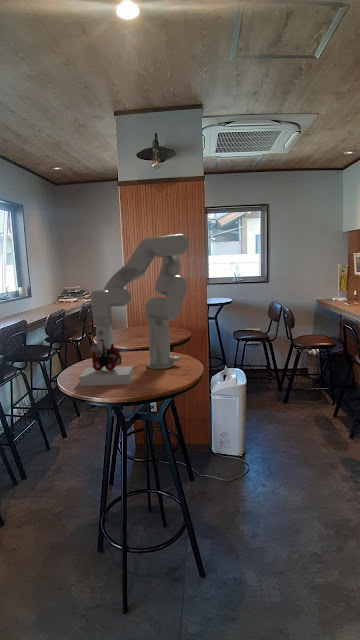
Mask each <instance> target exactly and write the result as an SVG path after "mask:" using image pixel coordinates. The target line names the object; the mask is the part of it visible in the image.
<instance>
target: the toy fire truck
mask: <svg viewBox="0 0 360 640" xmlns="http://www.w3.org/2000/svg"><path fill="white" fill-rule="evenodd" d="M111 346H112V347H111V348H110V349H109V350H108V349H107V354H108V355H107V356H108V357H109V358H108V364H109V365H108V366H100V356H99V352H100V351H99V349H98V347H97V343H96V344H95V343H92V344H91V345H90V346H89V347H90V348H89V349H90V350H89V351H90V352H91V360H92V368H94V369H95V370H96V371H100V370H101V369H102V368H103V367H105V368H106V369H107V370H109V371H112V370H113V369H114V368H115V367H118V366H120V365H121V364H123V363H122V355H121V353H120V352H119V350H118V348H117V347H115V346H114V344H112V345H111ZM103 349H106V348H103ZM109 351H110V352H109ZM104 352H105V351H104ZM108 352H109V353H108Z"/></svg>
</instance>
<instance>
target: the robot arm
mask: <svg viewBox="0 0 360 640" xmlns="http://www.w3.org/2000/svg"><path fill="white" fill-rule="evenodd" d="M189 247H190V240H189V239H188V237H187V236H186V235H185V234H182V233H176V234H167V235H166V234H165V235H163V236H162V235H161V236H151V237H145V238H143V239H142V240H141V241H140V242H139V243H138V245H137V246H136V248H135V249H134V251H133V253H132V255H131V256H130V258H129V259H128V260H127V262H126V263H125V265H123V266H122V267H121V268H120V269H118V270H117V272H115V273H114V274H113V275H112V276H111V277H110V279H109V280H108V281H107V282H106V285H104V287H103V289H97V290H92V291H91V293H90V300H91V301H90V302H91V311H92V312H91V313H92V322H93V324H92V325H93V326H95V335H96V336H95V337H96V344H97V347H98V349H99V351H100V352H99V356H100V366H104V367H105V366H108V365H109V364H108V358H109V357H108V356H107V355H108V354H107V349H108V350H109V349H110V348H111V347H112V346H111V345H112V344H113V345H114V344H115V343H114V336H113V328H112V324H113V312H112V307H125V306H127V305H128V304H129V303H130V302H131V300H132V299H131V297H132V295H131V293H130V292H129V290H127V288H125V287H126V286H127V285H128V284H129V283H132V282H133V281H135V280H137V279H140V278H141V277H142V276H144V275H145V273H146V271H147V270H148V268H149V266H150V265H151V263H152V262H153V260H154V258H161V260H162V261H161V262H162V263H161V267H160V269H159V273H158V277H156V278H157V279H156V281H155V285H154V290H155V292H156V294H158V295H159V296H163V297H159V296H153V297H150V298H148V299H147V300H146V302H145V304H144V314H145V318H146V323H147V335H148V336H147V337H148V351H149V361H148V362H147V363H146V367H147V368H148V369H153V370H163V369H165V370H166V369H169V368H172V367H173V366H174V365H175V362H181V357H180V356H173V355H172V353H171V344H170V342H171V341H170V328H169V322H168V321H174V320H175V319H176V318H177V317H178V315H180V311H181V309H182V305H184V304H183V303H184V301H185V297H186V294H187V290H188V283H187V281H186V279H185V278H184V277H183V276H182V275H180V271H181V267H182V266H181V261H180V260H181V259H180V258H179V256H178V255H183V254H185V253H186V252H187V251H188V250H189ZM103 348H106V349H103ZM104 351H105V352H104ZM109 352H110V351H109ZM109 352H108V353H109Z"/></svg>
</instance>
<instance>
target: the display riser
mask: <svg viewBox="0 0 360 640" xmlns="http://www.w3.org/2000/svg"><path fill="white" fill-rule="evenodd" d="M133 377H134V368H133V365H131V366H129V365H128V366H115V368H114V369H113V370H112V371H109V370H107V369H106V368H105V366H104V367H103V368H102V369H101V370H100V371H96V370H95V369H94V368H93V367H86V368H85V369H84V370H83V371H82V373H80V375H79V376H78V380H79V387H94V386H96V387H97V386H115V385H116V386H118V385H119V386H120V385H130V384H131V381H132V379H133Z"/></svg>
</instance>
